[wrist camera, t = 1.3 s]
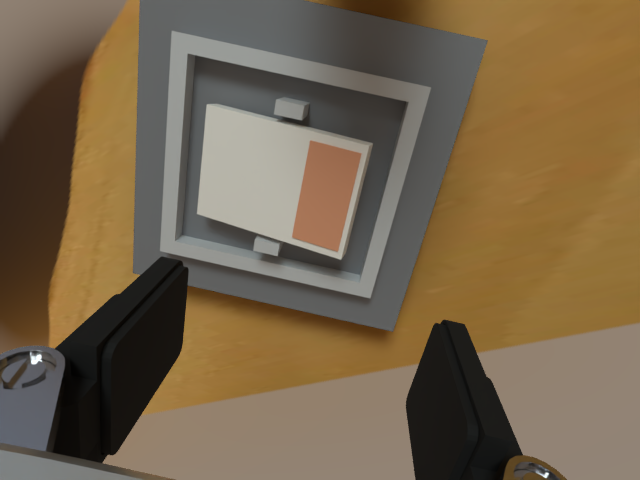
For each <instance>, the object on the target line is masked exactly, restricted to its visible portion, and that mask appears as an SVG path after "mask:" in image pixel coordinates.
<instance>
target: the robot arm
mask: <svg viewBox="0 0 640 480" xmlns="http://www.w3.org/2000/svg"><path fill="white" fill-rule="evenodd" d="M188 274H189V270H188V267H184V266H183V262H182V261H181V260H176V259H172V258H167V257H163V256H162V257H160V258H159V259H158V260H157V261H155V262H154V263H153V264H152V265H151V266H150V267H149V268H148V269H147V270H146V271H145V272H144V273H142V274H141V275H140V276H139V277H138V278H137V279H136V280H135V281H134V282H133V283H132V284H130V285H129V286H128V287H127V288H126V289H125V290H124V291H123V292H122V293H121V294H116V295H114V296H113V297H112V298H110V299H109V300H108V301H107V302H106V303H105V304H104V305H103V306H102V307H101V308H99V309H98V310H97V311H96V312H95V313H94V314H93V315H92V316H91V317H89V318H88V319H87V320H86V321H85V322H84V323H83V324H82V325H81V326H79V327H78V328H77V329H76V330H75V331H74V332H73V333H72V334H71V335H70V336H68V337H67V338H66V339H65V340H64V341H63V342H62V343H61V344H60V345H58V346H57V347H56V348H55V349H54V348H50V347H45V346H27V347H20V348H16V349H13V350H10V351H7V352H4V353H2V354H0V480H174V479H170V478H165V477H161V476H157V475H152V474H147V473H143V472H138V471H134V470H130V469H125V468H121V467H116V466H112V465H107V464H103V463H102V462H103V461H104V459H105V457H106V456H107V455H114V454H116V452H117V451H118V450H119V448H120V447H121V445H122V443H123V442H124V440H125V439H126V437H127V436H128V434H129V433H130V431H131V429H132V428H133V426H134V425H135V423H136V422H137V420H138V419H139V417H140V416H141V414H142V412H143V411H144V409H145V408H146V406H147V405H148V403H149V402H150V400H151V398H152V397H153V395H154V394H155V392H156V391H157V389H158V388H159V386H160V384H161V383H162V381H163V380H164V378H165V377H166V375H167V374H168V372H169V370H170V369H171V367H172V366H173V364H174V363H175V361H176V360H177V358H178V356H179V354H180V352H181V349H182V344H183V332H184V321H185V309H186V297H187V286H188ZM406 411H407V419H408V426H409V434H410V441H411V449H412V456H413V464H414V471H415V478H416V480H567V479H566V478H565V477H563V475H561V474H560V473H559V472H558V471H557V470H556V469H554V468H553V467H551V466H550V465H548V464H547V463H545V462H543V461H541V460H539V459H537V458H534V457H530V456H525V455H523V454H522V452H521V449H520V447H519V445H518V443H517V440H516V438H515V435H514V433H513V431H512V428H511V426H510V423H509V421H508V419H507V416H506V414H505V412H504V409H503V407H502V404H501V402H500V400H499V397H498V395H497V393H496V390H495V388H494V385H493V383H492V381H491V380H490V379H489V378H488V377H486V375H485V372H484V370H483V367H482V365H481V362H480V360H479V358H478V355H477V353H476V350H475V348H474V345H473V343H472V341H471V338H470V336H469V333H468V331H467V328H466V326H465V325H464V324H461V323H457V322H453V321H448V320H443V321H442V322H441V324H438V323H435V324H434V326H433V328H432V331H431V333H430V336H429V339H428V342H427V344H426V347H425V350H424V352H423V355H422V358H421V360H420V363H419V366H418V369H417V371H416V374H415V377H414V379H413V382H412V385H411V388H410V390H409V393H408V396H407V401H406Z"/></svg>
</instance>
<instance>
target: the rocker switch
mask: <svg viewBox="0 0 640 480" xmlns="http://www.w3.org/2000/svg"><path fill="white" fill-rule="evenodd" d="M372 146H373V143H370V142H366V141H362V140H358V139H354V138H350V137H346V136H342V135H339V134H335V133H331V132H327V131H323V130H319V129H315V128H311V127H307V126H303V125H299V124H295V123H291V122H287V121H283V120H279V119H276V118H272V117H268V116H264V115H260V114H256V113H252V112H248V111H244V110H240V109H236V108H232V107H228V106H224V105H220V104H207V106H206V117H205V128H204V140H203V151H202V162H201V174H200V185H199V196H198V208H197V214H199V215H202V216H205V217H208V218H211V219H214V220H217V221H221V222H224V223H227V224H230V225H233V226H236V227H239V228H243V229H246V230H249V231H252V232H255V233H258V234H261V235H265V236H268V237H271V238H274V239H277V240H280V241H283V242H286V243H290V244H293V245H296V246H299V247H302V248H305V249H308V250H312V251H315V252H318V253H321V254H324V255H327V256H330V257H334V258H337V259H340V260H341V259H342V258H343V256H344V255H345V254H346V250H347V246H348V242H349V238H350V234H351V230H352V226H353V222H354V218H355V214H356V210H357V206H358V202H359V198H360V194H361V190H362V186H363V182H364V178H365V174H366V170H367V166H368V162H369V158H370V154H371V150H372Z"/></svg>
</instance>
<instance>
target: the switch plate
mask: <svg viewBox="0 0 640 480" xmlns="http://www.w3.org/2000/svg"><path fill="white" fill-rule="evenodd" d="M487 41H488V40H484V39H479V38H474V37H470V36H465V35H461V34H456V33H451V32H447V31H442V30H438V29H433V28H428V27H424V26H419V25H415V24H410V23H405V22H401V21H396V20H392V19H387V18H382V17H378V16H373V15H369V14H364V13H359V12H355V11H350V10H346V9H341V8H336V7H332V6H327V5H323V4H318V3H313V2H309V1H304V0H140V16H139V55H138V95H137V134H136V174H135V213H134V253H133V273H135V274H140V275H141V274H142V273H144V272H145V271H146V270H147V269H148V268H149V267H150V266H151V265H152V264H153V263H154V262H155V261H157V260H158V259H159V258H160V257H162V256H163V257H167V258H172V259H176V260H181V261H182V262H183V266H184V267H188V270H189V274H188V286H193V287H197V288H202V289H206V290H211V291H215V292H219V293H224V294H228V295H233V296H237V297H242V298H246V299H251V300H255V301H259V302H264V303H268V304H273V305H277V306H282V307H286V308H290V309H295V310H299V311H304V312H308V313H313V314H317V315H321V316H326V317H330V318H335V319H339V320H344V321H348V322H353V323H357V324H361V325H366V326H370V327H375V328H379V329H384V330H388V331H392V332H393V330H394V327H395V324H396V321H397V318H398V315H399V311H400V308H401V305H402V302H403V299H404V296H405V293H406V290H407V287H408V284H409V281H410V278H411V275H412V272H413V268H414V265H415V262H416V259H417V256H418V253H419V250H420V247H421V244H422V241H423V238H424V235H425V232H426V229H427V225H428V222H429V219H430V216H431V213H432V210H433V207H434V204H435V201H436V198H437V195H438V192H439V189H440V186H441V182H442V179H443V176H444V173H445V170H446V167H447V164H448V161H449V158H450V155H451V152H452V149H453V146H454V143H455V139H456V136H457V133H458V130H459V127H460V124H461V121H462V118H463V115H464V112H465V109H466V106H467V103H468V100H469V96H470V93H471V90H472V87H473V84H474V81H475V78H476V75H477V72H478V69H479V66H480V63H481V60H482V57H483V53H484V50H485V47H486V44H487ZM207 104H220V105H224V106H228V107H232V108H236V109H240V110H244V111H248V112H252V113H256V114H260V115H264V116H268V117H272V118H276V119H279V120H283V121H287V122H291V123H295V124H299V125H303V126H307V127H311V128H315V129H319V130H323V131H327V132H331V133H335V134H339V135H342V136H346V137H350V138H354V139H358V140H362V141H366V142H370V143H373V146H372V150H371V154H370V158H369V162H368V166H367V170H366V174H365V178H364V182H363V186H362V190H361V194H360V198H359V202H358V206H357V210H356V214H355V218H354V222H353V226H352V230H351V234H350V238H349V242H348V246H347V250H346V254H345V255H344V256H343V258H342V259H341V260H340V259H337V258H334V257H330V256H327V255H324V254H321V253H318V252H315V251H312V250H308V249H305V248H302V247H299V246H296V245H293V244H290V243H286V242H283V241H280V240H277V239H274V238H271V237H268V236H265V235H261V234H258V233H255V232H252V231H249V230H246V229H243V228H239V227H236V226H233V225H230V224H227V223H224V222H221V221H217V220H214V219H211V218H208V217H205V216H202V215H199V214H197V208H198V196H199V185H200V174H201V162H202V151H203V140H204V128H205V117H206V106H207Z"/></svg>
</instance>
